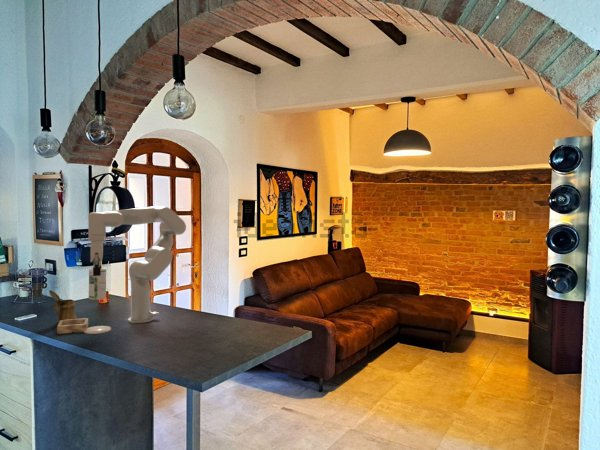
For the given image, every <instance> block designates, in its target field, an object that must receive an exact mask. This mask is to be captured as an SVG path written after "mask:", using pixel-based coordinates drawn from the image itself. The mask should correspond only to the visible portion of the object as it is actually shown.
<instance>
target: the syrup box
mask: <svg viewBox="0 0 600 450" xmlns="http://www.w3.org/2000/svg"><path fill="white" fill-rule="evenodd" d="M106 298H107V269H106V268H101V275H100V276H93V268H89V269H88V299H89V300H93V301H99V300H105V299H106Z"/></svg>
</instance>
